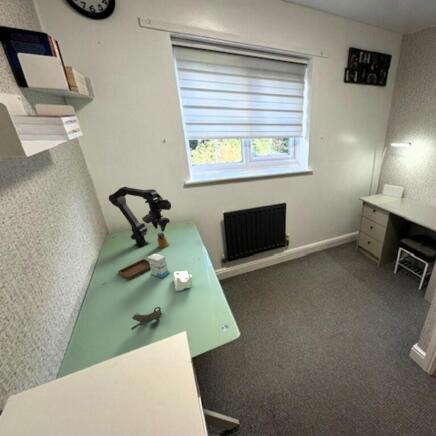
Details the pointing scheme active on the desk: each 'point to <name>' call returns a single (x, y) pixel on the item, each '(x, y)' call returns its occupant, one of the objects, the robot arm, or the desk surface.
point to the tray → (135, 269)
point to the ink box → (158, 265)
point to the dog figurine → (147, 318)
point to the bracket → (182, 280)
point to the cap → (160, 235)
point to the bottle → (162, 242)
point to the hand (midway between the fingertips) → (159, 230)
